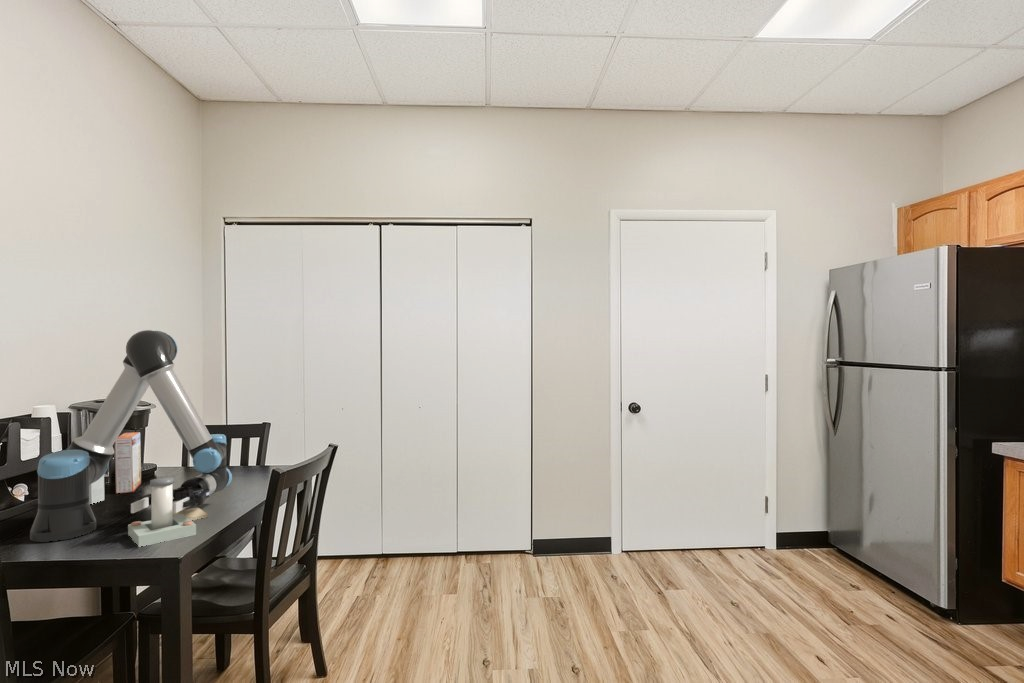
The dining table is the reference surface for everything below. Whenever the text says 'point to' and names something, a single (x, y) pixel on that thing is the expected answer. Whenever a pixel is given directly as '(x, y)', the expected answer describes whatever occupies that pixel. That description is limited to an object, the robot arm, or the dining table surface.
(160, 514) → the cylinder
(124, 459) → the cracker box
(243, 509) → the dining table surface
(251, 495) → the dining table surface
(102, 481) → the small box
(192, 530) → the frame
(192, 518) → the board
